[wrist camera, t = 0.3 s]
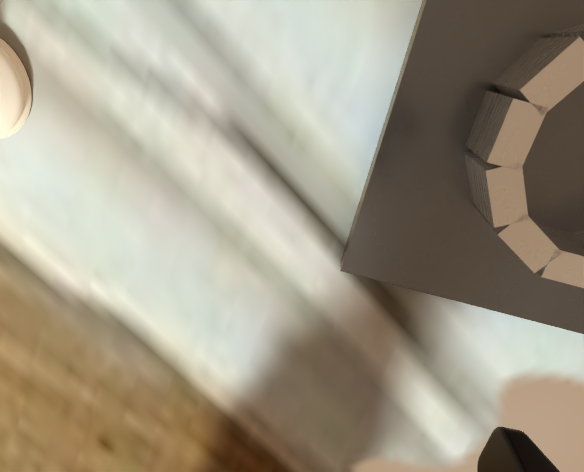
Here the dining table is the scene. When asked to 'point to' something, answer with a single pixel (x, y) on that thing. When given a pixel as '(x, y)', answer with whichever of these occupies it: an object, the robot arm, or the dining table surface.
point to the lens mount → (483, 162)
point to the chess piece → (13, 92)
